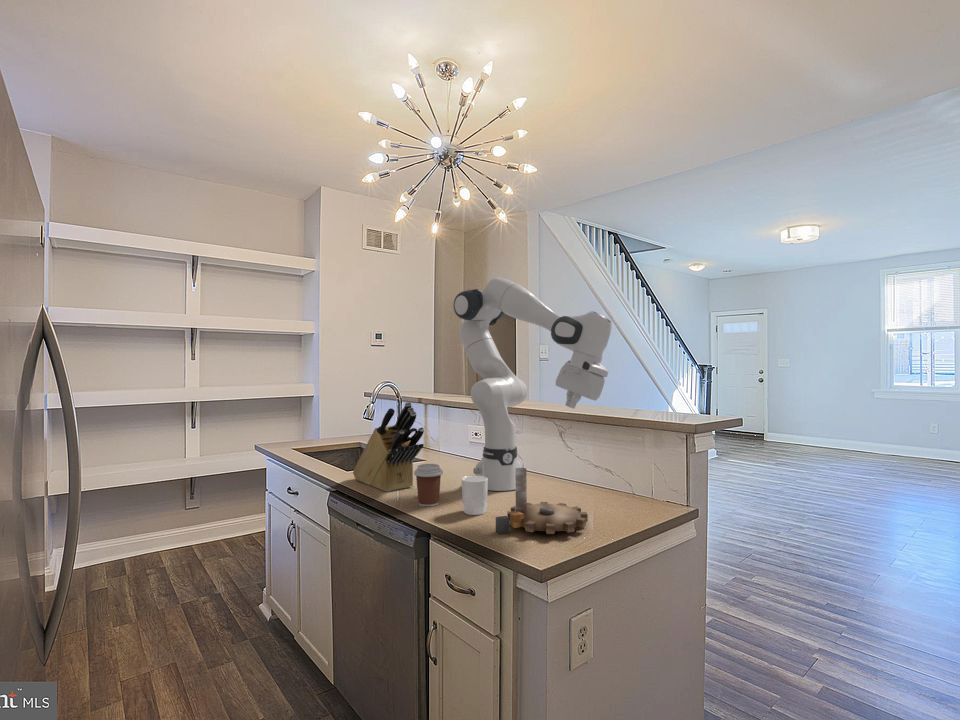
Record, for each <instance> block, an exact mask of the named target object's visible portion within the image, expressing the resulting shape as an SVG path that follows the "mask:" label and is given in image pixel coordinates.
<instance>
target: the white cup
mask: <svg viewBox="0 0 960 720" xmlns="http://www.w3.org/2000/svg"><path fill="white" fill-rule="evenodd" d="M487 489H488V478H487V477H484V476H475V475H467V476H463V477H461V493H462V496H461V497H462V504H463V506H462V509H463V513H464V514H465V513H466V515H468V516H469V515H471V516H480V515H483V514H486V513H485V512H487V502H488V490H487Z"/></svg>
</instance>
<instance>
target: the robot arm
mask: <svg viewBox="0 0 960 720" xmlns="http://www.w3.org/2000/svg"><path fill="white" fill-rule="evenodd" d="M453 311H454V313H455V315H456V316H457V318H459V319H462V320H464V321H463V322H462V323H461V324H460V326H459V335H460V340H461V343H462V346H463V349H464V351H465V353H466V356H467V358H468V361H469V363H470V365H471V367H472V369H473V371H474V372H475V373H476V374H478V375H479V376H480V377H481V378H482V380H479V381H477V382H475V383H474V384H473V386H472V387H471V391H470V398H471V401H472V404H473V405H474V406H475V407H476V408H477V409H478V410H479V413H480V415H481V418H482V422H483V426H484V446H483V450H482V458H481V459H480V460H479V461H478V463H476V465H475V467H473V474H474V476H484V477H487V478H488V489H487V491H496V492H506V491H513V490H514V491H515V490H516V478H515V469H516V468H521V462H520V461H519V460H518V458H517V457H518V448H517V443H516V442H517V439H516V438H517V434H516V433H517V432H516V431H517V429H516V428H517V427H516V424H515V423H514V421H513V420H512V419H511V418H510V414H509V411H508V408H509V407H510V408H512V407H516V406H518V405H520V404H522V403H523V402H524V401H525V399H526V398H527V396H528V389H527V385H526V383H525V382H524V381H523V380H522V379H520V378H519V377H517V375H516V374H515V373H514V372H513V371H512V370H511V369H510V367H509V366H508V365H507V363H506V362H505V361H504V359H503V358H502V356H501V354H500V352H499V349H498V347H497V345H496V343H495V342H494V339H493V336H492V335H491V333H490V330H489V326H494V325H495V324H497V322H498V320H500V319H501V318H502V317H503V316H504V315H506V316H509V317H511V318H513V319H516V320H519V321H522V322H526V323H530V324H532V325H536V326H538V327H542V328H544V329H545V330H548V331H549V332H550V336H551V339H552V340H553V342H555V344H557V345H559V347H563V348H565V349H567V350H570V351H572V355H571V358H570V360H569V359H568V360H567V361H566V362H565V363H564V365H562V367H561V368H560V370H559V372H558V375H557V378H556V379H555V386H556V387H558V388H561V389H563V390H566V401H565V405H564V406H566V407H569V408H571V409H573V410H574V409H576V406H577V404H578V403H579V401H581V399H582V397H583V398H586V399H589V400H591V401H594V402H595V401H597V400H598V399H599V398H600V396H601V395H602V393H603V389H604V385H605V381H606V379H605V378H607V377H608V374H609V370H608V369H607V368H606V367H605V366H604V365H603V364H602V363H601V362H602V360H603V353H604V351H605V349H606V348H607V346H608V344H609V343H608V342H609V340H610V336H611V333H612V326H613V325H612V321H611V320H610V319H609V318H608V317H606V316H605V315H603V314H601V313H599V312H596V311H589V312H587V313H585V314H581V315H580V314H579V315H570V316H568V315H567V316H566V315H563V316H561V315H560V314H558V313H556V312H554V311H553V310H551V308H550V307H548V306H546V304H544V303H543V302H542V300H540V299H539V298H538V297H537V296H536V295H534V293H532V292H531V291H529V290H528V289H527V288H525V286H523V285H521V284H519V283H518V282H515V281H513V280H510V279H507V278H505V277H504V278H503V277H499V276H497V277H493V278H492V279H490V280H489V281H488V282H487V284H486V286H485V288H484V289H483V290H482V289H481V290H479V289H477V288H474V289H467V290H463V291H461V292H459V293H458V294H457V295H456V296H455V298H454V300H453Z"/></svg>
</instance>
